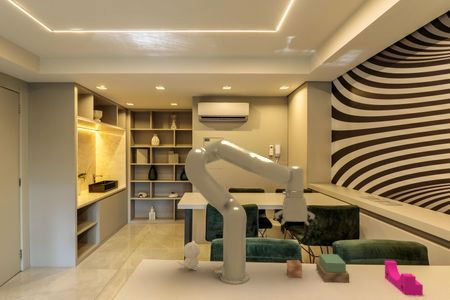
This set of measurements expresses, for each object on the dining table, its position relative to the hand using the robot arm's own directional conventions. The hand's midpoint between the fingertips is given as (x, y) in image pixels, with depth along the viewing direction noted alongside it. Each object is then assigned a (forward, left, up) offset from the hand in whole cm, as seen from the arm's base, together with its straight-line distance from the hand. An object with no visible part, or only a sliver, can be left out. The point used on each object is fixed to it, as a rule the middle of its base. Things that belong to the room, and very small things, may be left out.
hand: (294, 233), depth 121 cm
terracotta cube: (0, 0, -18) cm, 18 cm away
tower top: (+16, 0, -14) cm, 22 cm away
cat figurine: (-47, +4, -18) cm, 51 cm away
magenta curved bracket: (+41, -8, -18) cm, 46 cm away
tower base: (+16, 0, -18) cm, 24 cm away
